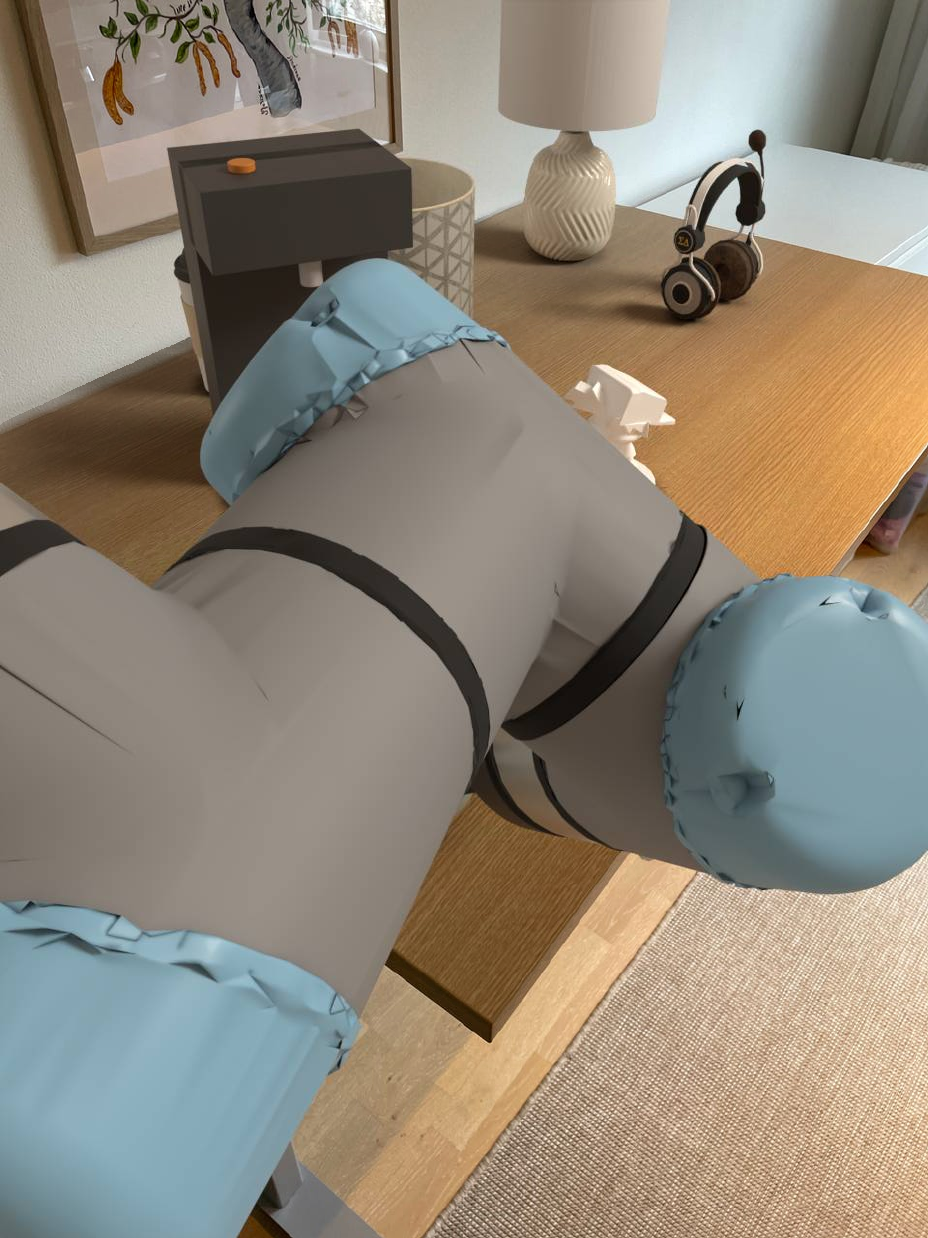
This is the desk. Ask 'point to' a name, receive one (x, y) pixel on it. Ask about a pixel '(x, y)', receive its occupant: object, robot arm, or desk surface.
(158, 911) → the robot arm
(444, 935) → the desk surface
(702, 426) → the desk surface
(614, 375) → the character figurine
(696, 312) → the headset
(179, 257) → the coffee cup
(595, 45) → the lamp
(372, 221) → the coffee maker
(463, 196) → the planter
